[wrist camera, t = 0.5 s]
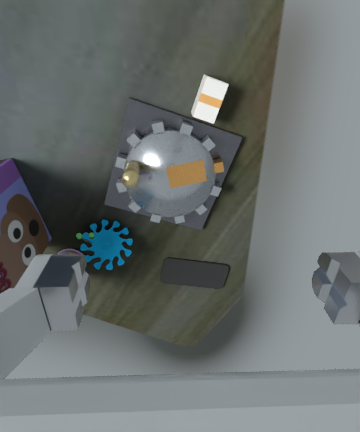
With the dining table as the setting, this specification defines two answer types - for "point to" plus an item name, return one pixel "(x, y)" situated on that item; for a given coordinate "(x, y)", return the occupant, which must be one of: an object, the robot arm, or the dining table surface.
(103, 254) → the blue splat toy
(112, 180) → the base plate
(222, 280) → the phone
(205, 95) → the link block
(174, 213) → the sprocket
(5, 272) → the cereal box
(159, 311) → the dining table surface
